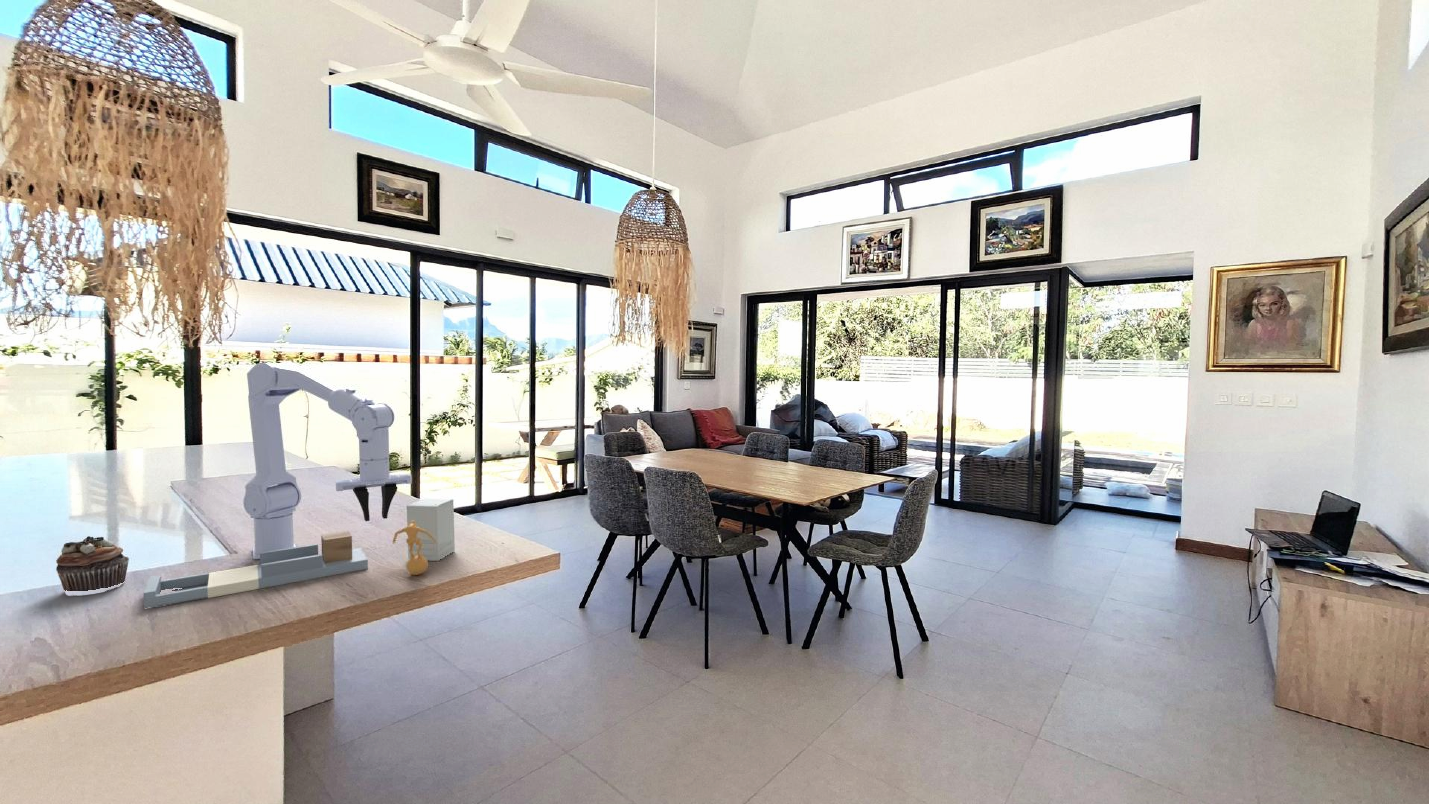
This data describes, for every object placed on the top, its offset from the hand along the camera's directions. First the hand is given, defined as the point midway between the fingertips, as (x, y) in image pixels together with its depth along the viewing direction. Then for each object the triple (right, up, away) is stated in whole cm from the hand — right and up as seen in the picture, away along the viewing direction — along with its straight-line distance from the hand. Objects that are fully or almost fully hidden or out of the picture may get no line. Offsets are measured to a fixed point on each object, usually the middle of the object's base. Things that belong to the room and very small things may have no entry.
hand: (375, 518), depth 130 cm
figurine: (+14, -10, -9) cm, 19 cm away
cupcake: (-44, -10, -17) cm, 49 cm away
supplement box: (+11, -10, +4) cm, 15 cm away
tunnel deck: (-15, -10, -12) cm, 22 cm away
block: (-6, -8, -4) cm, 11 cm away
